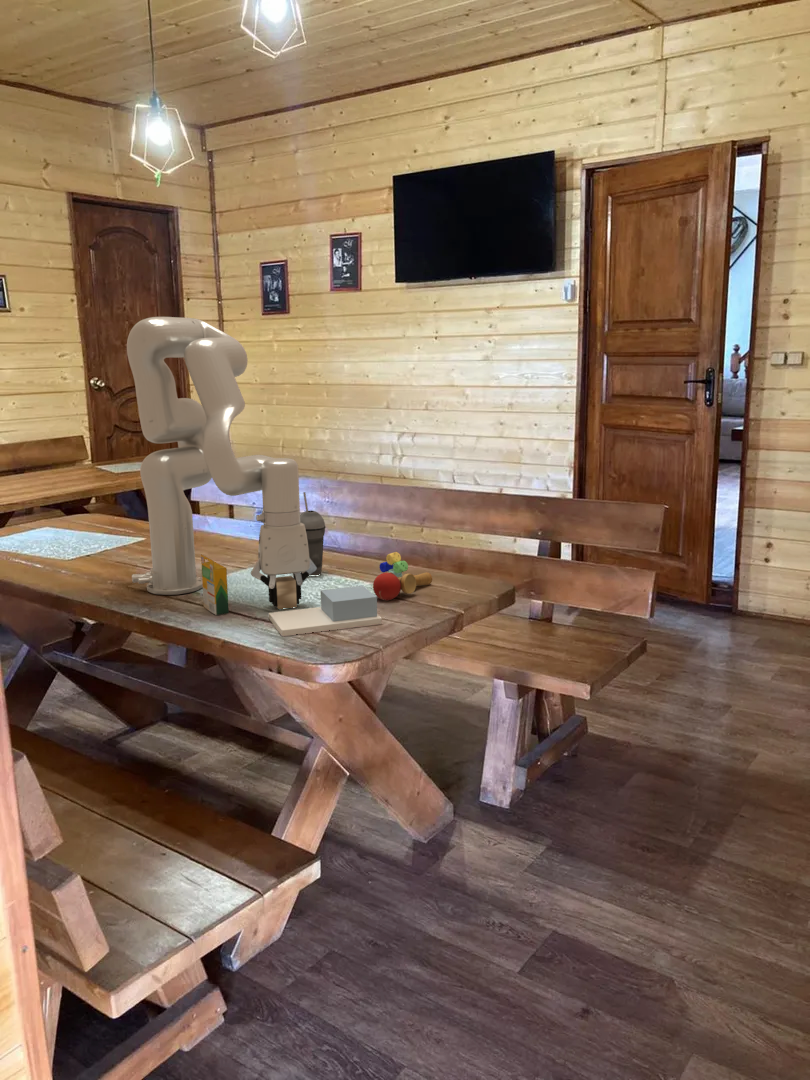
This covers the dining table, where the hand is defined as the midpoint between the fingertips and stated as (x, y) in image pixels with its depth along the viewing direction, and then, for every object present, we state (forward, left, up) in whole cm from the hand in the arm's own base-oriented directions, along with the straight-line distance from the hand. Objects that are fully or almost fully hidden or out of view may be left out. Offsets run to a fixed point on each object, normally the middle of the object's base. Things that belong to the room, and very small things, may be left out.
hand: (285, 602), depth 184 cm
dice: (+29, +13, -1) cm, 32 cm away
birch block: (0, 0, -1) cm, 1 cm away
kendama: (+27, +1, -1) cm, 27 cm away
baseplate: (+5, -13, -1) cm, 14 cm away
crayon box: (-14, +3, -1) cm, 14 cm away
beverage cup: (+12, +24, -1) cm, 27 cm away
